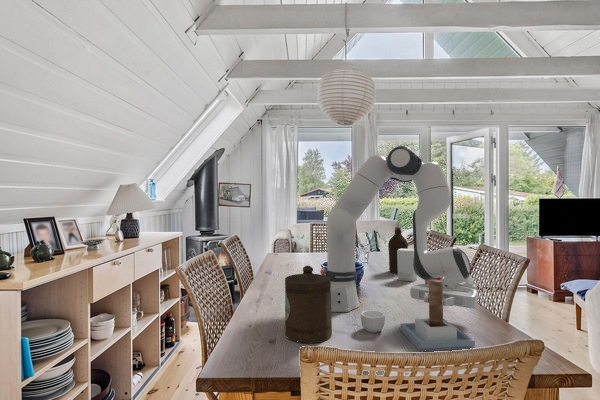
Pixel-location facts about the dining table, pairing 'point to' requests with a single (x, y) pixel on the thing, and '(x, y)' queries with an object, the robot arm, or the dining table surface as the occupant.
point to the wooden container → (308, 307)
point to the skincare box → (406, 265)
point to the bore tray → (436, 344)
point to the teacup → (372, 320)
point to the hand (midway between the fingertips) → (434, 301)
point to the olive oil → (393, 246)
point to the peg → (435, 303)
